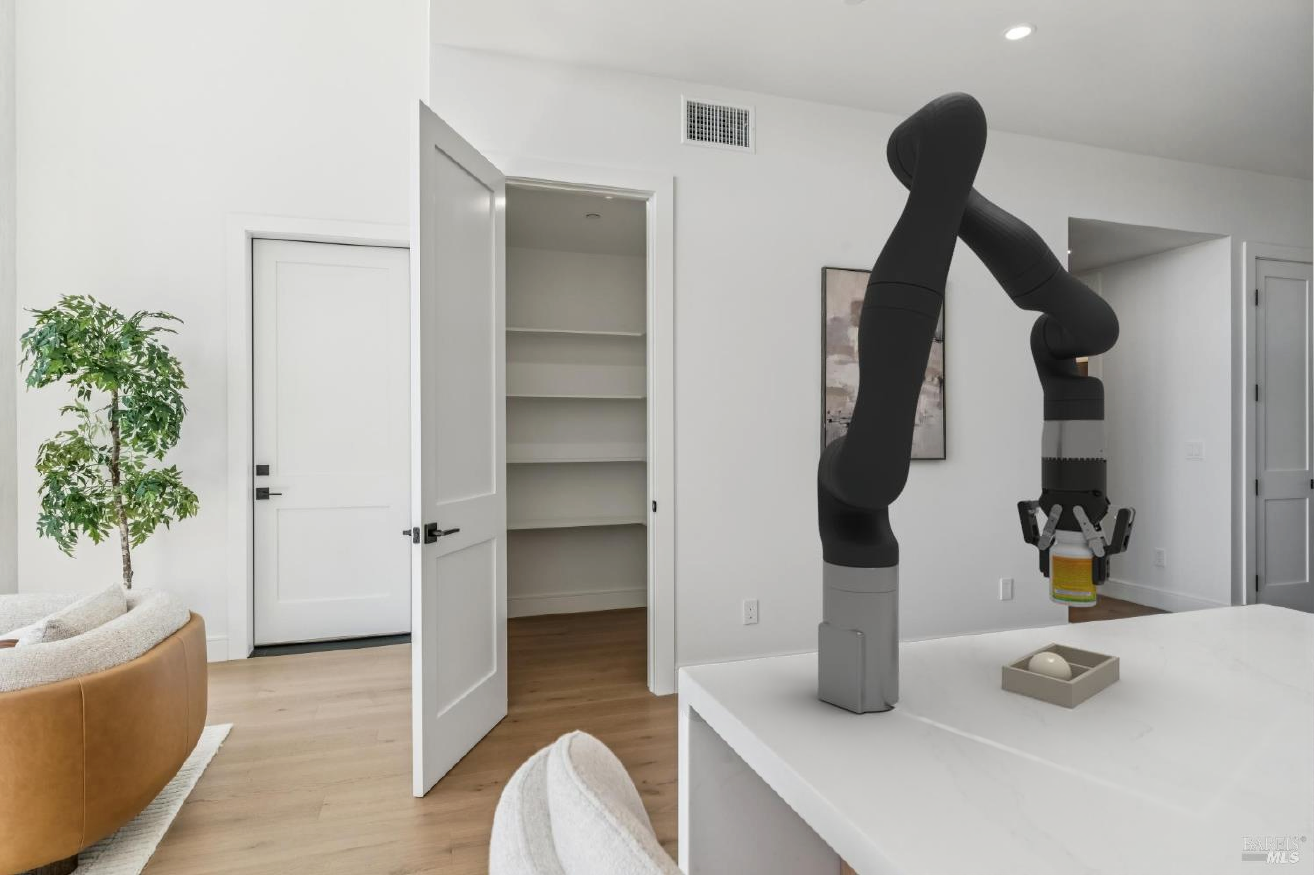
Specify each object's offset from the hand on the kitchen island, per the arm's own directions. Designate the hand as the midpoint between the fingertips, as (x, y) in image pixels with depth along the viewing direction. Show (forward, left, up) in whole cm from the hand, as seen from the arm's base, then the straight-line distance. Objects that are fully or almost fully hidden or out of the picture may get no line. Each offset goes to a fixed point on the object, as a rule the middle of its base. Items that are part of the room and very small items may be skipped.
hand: (1073, 580), depth 92 cm
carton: (-4, 0, -14) cm, 14 cm away
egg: (-8, 0, -13) cm, 15 cm away
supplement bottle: (0, 0, -3) cm, 3 cm away
